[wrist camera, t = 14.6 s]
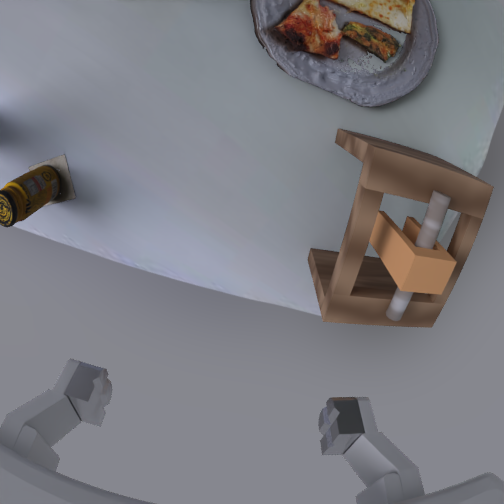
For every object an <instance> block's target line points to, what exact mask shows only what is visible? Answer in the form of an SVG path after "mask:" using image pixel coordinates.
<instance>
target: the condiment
mask: <svg viewBox="0 0 504 504" xmlns="http://www.w3.org/2000/svg"><path fill="white" fill-rule="evenodd" d="M57 169H59V170H60V171H59V170H57ZM29 171H30V172H28V173H25V174H23V175H22V176H20V177H18V178H16V179H14V180H12V181H11V182H9V183H7V184H6V185H5V186H4V188H2V189H1V190H0V224H1V225H2V226H4V227H10V226H13V225H14V224H15V223H16V222H18V221H22V220H25V219H26V218H27V217H29V216H30V215H31V214H33V213H34V212H36V211H37V210H38V209H40V208H41V207H43V206H47V205H50V204H54V203H58V202H62V201H66V200H71V199H75V198H76V197H75V194H74V189H73V185H72V181H71V177H70V173H69V170H68V166H67V162H66V159H65V154H64V155H61V156H58V157H55V158H53V159H50V160H47V161H44V162H41V163H39V164H36V165H33V166H31V167H29ZM60 193H61V194H60Z"/></svg>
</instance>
